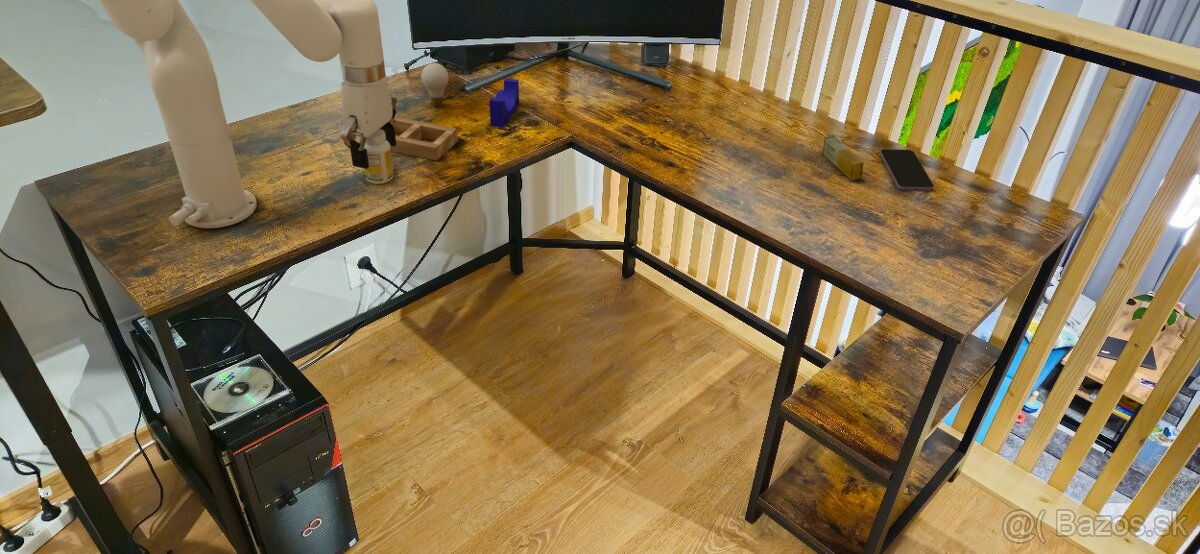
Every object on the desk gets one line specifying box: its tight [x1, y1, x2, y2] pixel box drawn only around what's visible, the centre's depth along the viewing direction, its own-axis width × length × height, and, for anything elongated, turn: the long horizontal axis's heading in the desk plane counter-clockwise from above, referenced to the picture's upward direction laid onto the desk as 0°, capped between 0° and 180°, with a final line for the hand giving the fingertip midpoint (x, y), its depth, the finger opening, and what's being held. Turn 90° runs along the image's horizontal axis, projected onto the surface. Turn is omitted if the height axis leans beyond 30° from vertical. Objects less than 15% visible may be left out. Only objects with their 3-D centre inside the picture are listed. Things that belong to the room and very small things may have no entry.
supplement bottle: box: [364, 129, 395, 185], centre depth 161 cm, size 5×5×10 cm
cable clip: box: [488, 77, 520, 128], centre depth 186 cm, size 12×4×6 cm, turn 168°
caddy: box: [390, 116, 459, 162], centre depth 174 cm, size 9×17×3 cm, turn 71°
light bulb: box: [420, 62, 449, 108], centre depth 187 cm, size 6×6×10 cm
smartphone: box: [879, 148, 935, 192], centre depth 172 cm, size 7×1×15 cm
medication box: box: [822, 135, 865, 182], centre depth 172 cm, size 12×3×4 cm, turn 16°
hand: (375, 155), depth 160 cm, fingers open, 9 cm apart
